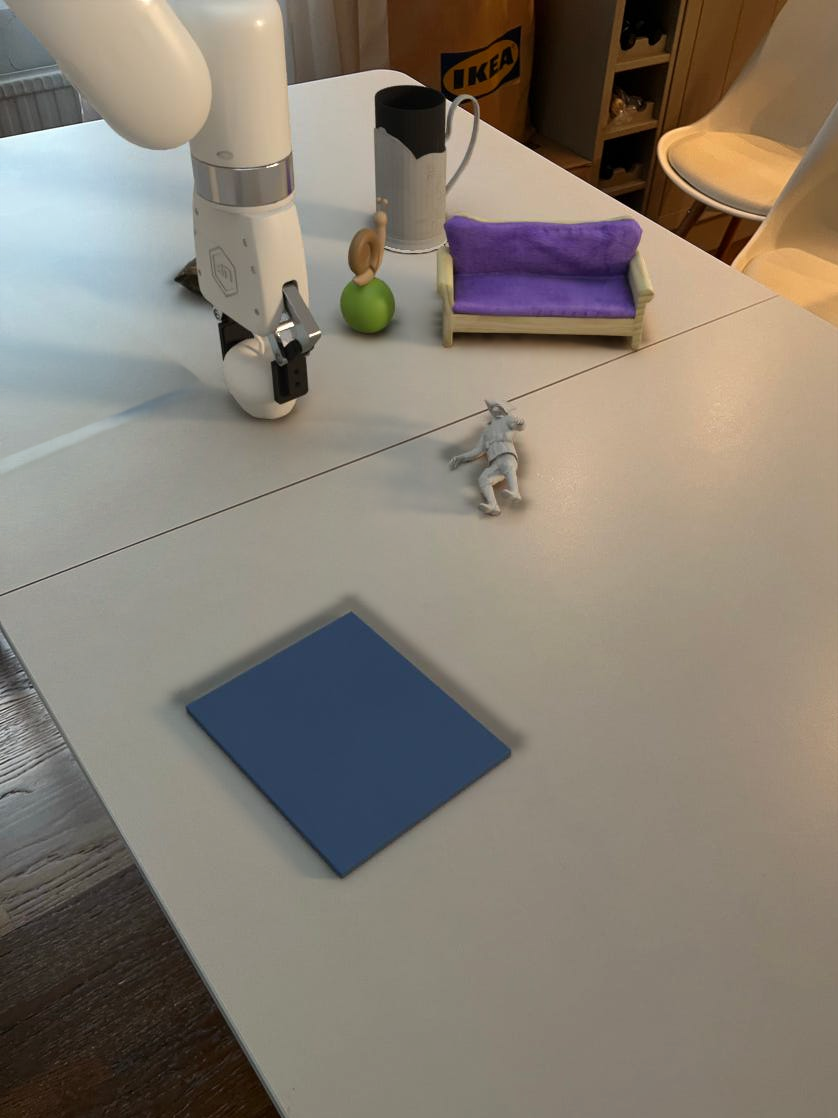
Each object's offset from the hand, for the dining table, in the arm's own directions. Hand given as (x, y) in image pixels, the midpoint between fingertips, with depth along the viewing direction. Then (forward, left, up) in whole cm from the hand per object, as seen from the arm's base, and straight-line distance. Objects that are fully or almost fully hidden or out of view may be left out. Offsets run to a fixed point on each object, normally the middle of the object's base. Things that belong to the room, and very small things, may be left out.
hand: (265, 377), depth 92 cm
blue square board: (-17, -34, -4) cm, 38 cm away
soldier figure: (+10, -20, -4) cm, 23 cm away
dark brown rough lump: (+10, +21, -4) cm, 23 cm away
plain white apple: (0, 0, -3) cm, 3 cm away
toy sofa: (+30, -5, -4) cm, 30 cm away
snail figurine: (+17, +6, -4) cm, 18 cm away
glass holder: (+36, +19, -4) cm, 40 cm away
